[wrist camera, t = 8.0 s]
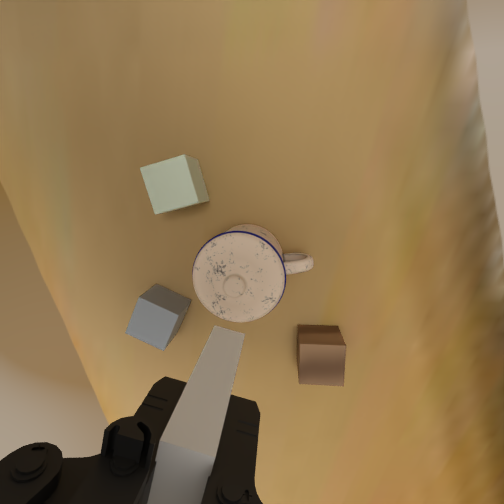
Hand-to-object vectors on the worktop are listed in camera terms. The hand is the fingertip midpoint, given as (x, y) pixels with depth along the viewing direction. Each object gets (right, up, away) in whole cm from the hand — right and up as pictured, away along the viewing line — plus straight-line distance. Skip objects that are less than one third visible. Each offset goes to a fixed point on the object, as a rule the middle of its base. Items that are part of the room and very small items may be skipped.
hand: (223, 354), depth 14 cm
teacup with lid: (+2, +4, +23) cm, 23 cm away
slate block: (-10, -2, +25) cm, 27 cm away
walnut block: (+10, -7, +24) cm, 27 cm away
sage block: (-7, +13, +22) cm, 26 cm away
